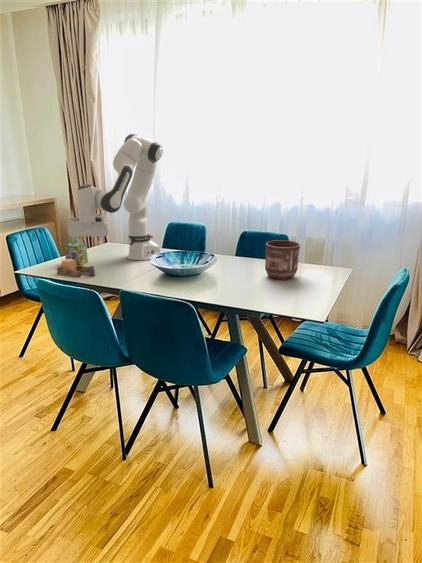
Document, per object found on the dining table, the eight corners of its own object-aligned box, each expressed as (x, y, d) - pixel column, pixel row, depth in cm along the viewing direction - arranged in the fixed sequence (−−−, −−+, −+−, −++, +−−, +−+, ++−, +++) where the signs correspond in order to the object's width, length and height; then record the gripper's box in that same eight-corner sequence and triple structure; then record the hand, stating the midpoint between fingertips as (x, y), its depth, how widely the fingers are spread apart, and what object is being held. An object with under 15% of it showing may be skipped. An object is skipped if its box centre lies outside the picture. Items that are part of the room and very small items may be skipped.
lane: (57, 273, 224) (56, 268, 223) (69, 268, 232) (69, 263, 231) (79, 277, 218) (79, 271, 217) (91, 272, 226) (91, 267, 225)
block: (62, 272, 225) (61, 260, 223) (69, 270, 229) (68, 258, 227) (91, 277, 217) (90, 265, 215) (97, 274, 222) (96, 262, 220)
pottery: (297, 283, 210) (300, 248, 205) (262, 280, 214) (264, 246, 208) (297, 273, 227) (300, 240, 221) (265, 271, 230) (267, 239, 225)
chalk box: (79, 266, 237) (76, 241, 232) (65, 265, 240) (62, 239, 235) (88, 262, 245) (86, 237, 241) (75, 260, 248) (72, 236, 243)
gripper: (65, 218, 206) (67, 246, 211) (106, 218, 208) (108, 245, 212) (68, 216, 212) (70, 243, 217) (108, 216, 214) (110, 242, 218)
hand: (89, 244), depth 215 cm, fingers open, 8 cm apart
